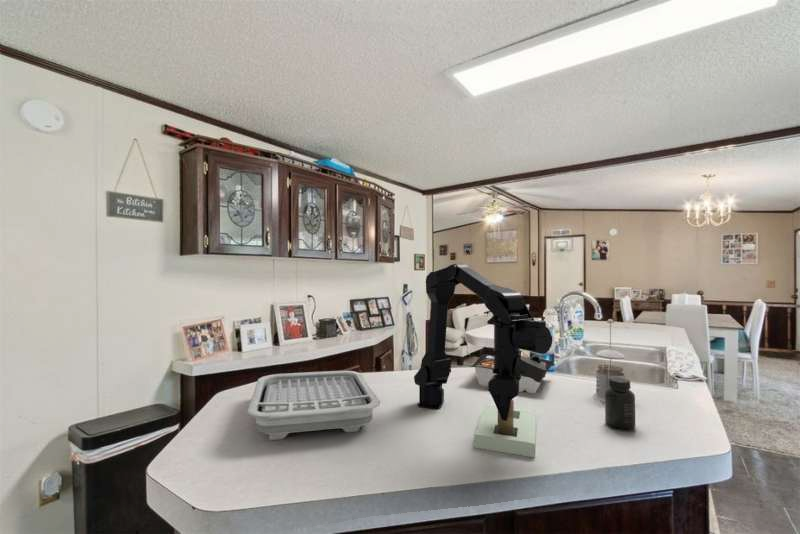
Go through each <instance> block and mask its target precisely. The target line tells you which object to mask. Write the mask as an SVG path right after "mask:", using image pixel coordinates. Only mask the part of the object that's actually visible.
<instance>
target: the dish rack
mask: <svg viewBox="0 0 800 534" xmlns="http://www.w3.org/2000/svg"><path fill="white" fill-rule="evenodd" d="M380 404H381V400H380V399H379V397H378V396H377V394H375V392H374V391H373V389H372V388H371V386H370V385H369V384H368V382H367V381H366V380H365V377H364V376H363V375H362V374H361V372H357V371H354V370H329V371H327V370H326V371H325V370H324V371H308V372H307V371H306V372H291V373H289V372H288V373H286V372H285V373H274V374H269V375H263V376H261V377H260V378H258V379H257V382H256V384H255V388H254V391H253V394H252V397H251V401H250V403H249V404H248V408H247V409H246V413H247V415H249V416H250V417H252V418H255V426H254V428H255V430H256V431H257V432H260V433H262V434H265V435H268V436H269V440H271V441H274V440H283V439H285V438H287V436H288V435H289V434H290V433H291V434H292V433H302V432H312V431H322V430H333V429H334V430H335V429H342V430H343V431H344V432H346V433H354V432H358V431H359V430H360V427H363V426H364V425H367V424H369V423H370V422H371V421H372V419H373V409H375V408H377V407H378V406H379V405H380Z"/></svg>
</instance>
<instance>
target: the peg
mask: <svg viewBox="0 0 800 534" xmlns="http://www.w3.org/2000/svg"><path fill="white" fill-rule="evenodd" d="M514 401H515V400H514V399H512V400H511V404H510V409H509V414H508V419H507V421H504V420H502V419H501V416H500V414H499V412H498V428H497V431H498V432H499V434H500V435H506V436H512V434H513V433H514V408H515V404H514V403H515V402H514Z"/></svg>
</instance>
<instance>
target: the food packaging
mask: <svg viewBox="0 0 800 534" xmlns="http://www.w3.org/2000/svg"><path fill="white" fill-rule="evenodd" d="M540 363H541V364H544V366H546V371H545V374H544V376H543V378H542V381H543V379H544V378H546V374H547V373H548V371H549V370H550V369H551V368H552V365H553V361H552V360H548V359H544V358H540ZM469 368H475V369H474V370H475V375H476V378H477V381H478V383H479V385H480V386H481V387H482V386H483V387H488V382H489V380H490V378H491V377H492V376H493V375H496V374H494V373H493V368H494V355H491V354H487V353H484V354H482V355H480V356H479V357H478V359H476V361H475V362H474V363H473V364H472V365H470V366H469ZM542 381H541V383H543V382H542ZM541 383H539V382H536V381H534V379H531V378H529V377H527V376H525V375H523V374H522V376H521V379H520V380H519V393H522V392H526V393H528V394H536V392H537V391H538V389H539V387H540V386H541Z"/></svg>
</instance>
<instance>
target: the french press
mask: <svg viewBox="0 0 800 534" xmlns="http://www.w3.org/2000/svg"><path fill="white" fill-rule="evenodd" d="M606 322H607V324H609V349H602V350H598V351H597V352H596V353H595V355H596V356H597V357H598V358H602V359H606V360H608V359H609V364H606V362H605V361H604V360H603V363H602V364H599V365H597V368H598V369H597V370H595V372H596V373H595V374H596V376H595V378H596V384H595V387H596V388H595V390H596V391H595V393H594V394H593V395H592V398H594V399H595V400H597V401H599V402H603V403H605V391H606V389H608V388H610V386H609V378H624V379H626V378H625V372H623V371H624V368H623V367H621V366H617V365H612V363H611V360H623V359H625V358H626V356H625V355H624V354H623V353H621V352H619V351H617V350H615V349H614V350H613V349H611V348H612V346H611V345H612V324H614V323H615V321H614V319H612V318H609V319H608V320H607V321H606Z"/></svg>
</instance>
